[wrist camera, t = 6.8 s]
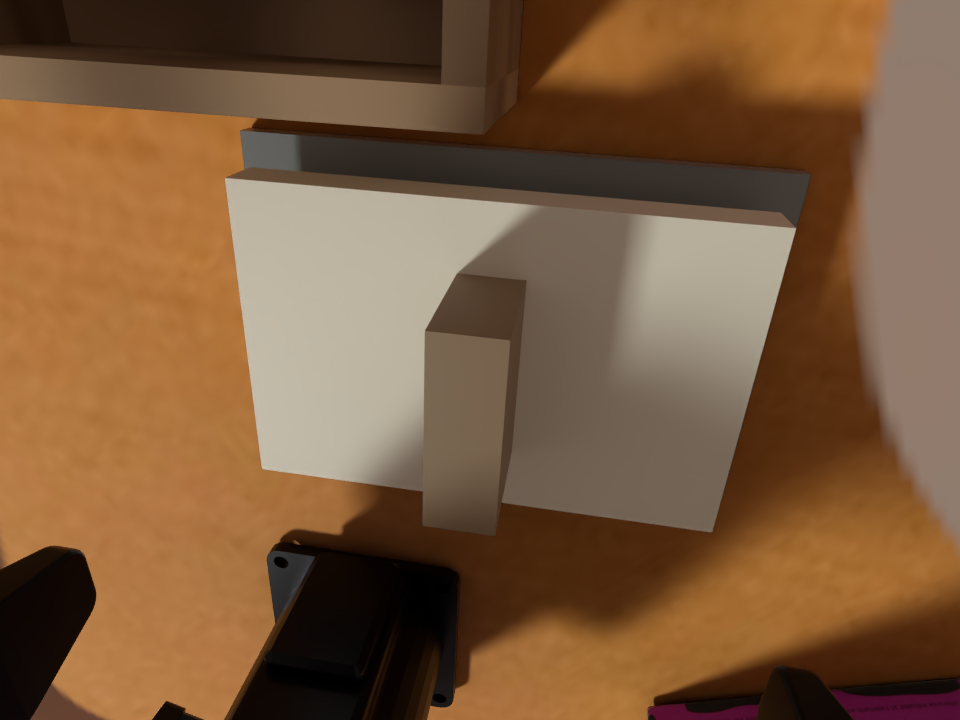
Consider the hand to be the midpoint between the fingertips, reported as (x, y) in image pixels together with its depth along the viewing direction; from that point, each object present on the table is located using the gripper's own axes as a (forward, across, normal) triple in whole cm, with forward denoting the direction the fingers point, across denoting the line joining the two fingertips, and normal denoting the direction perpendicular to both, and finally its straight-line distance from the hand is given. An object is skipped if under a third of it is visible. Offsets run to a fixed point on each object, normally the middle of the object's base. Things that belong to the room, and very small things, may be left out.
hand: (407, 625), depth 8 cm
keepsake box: (+10, +6, -9) cm, 15 cm away
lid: (+10, 0, 0) cm, 10 cm away
